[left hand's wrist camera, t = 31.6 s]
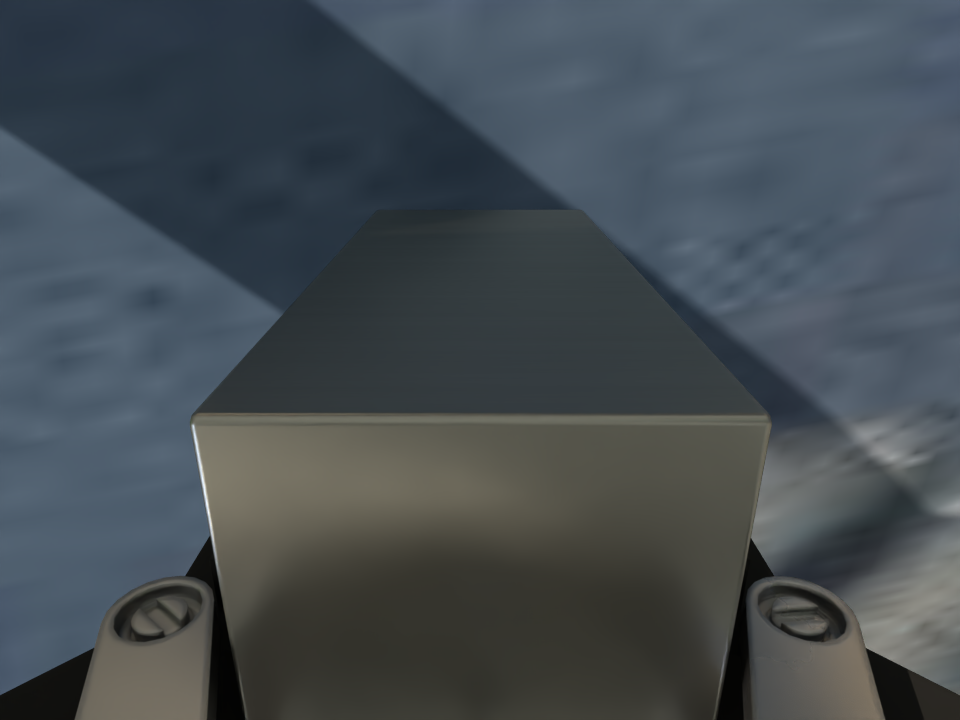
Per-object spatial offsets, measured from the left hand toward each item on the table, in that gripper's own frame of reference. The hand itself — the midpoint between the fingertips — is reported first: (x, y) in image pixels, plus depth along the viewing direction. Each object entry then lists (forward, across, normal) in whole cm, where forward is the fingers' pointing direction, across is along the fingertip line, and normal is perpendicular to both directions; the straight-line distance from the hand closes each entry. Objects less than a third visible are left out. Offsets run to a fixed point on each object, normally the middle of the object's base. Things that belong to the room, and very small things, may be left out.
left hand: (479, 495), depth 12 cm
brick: (+7, 0, 0) cm, 7 cm away
